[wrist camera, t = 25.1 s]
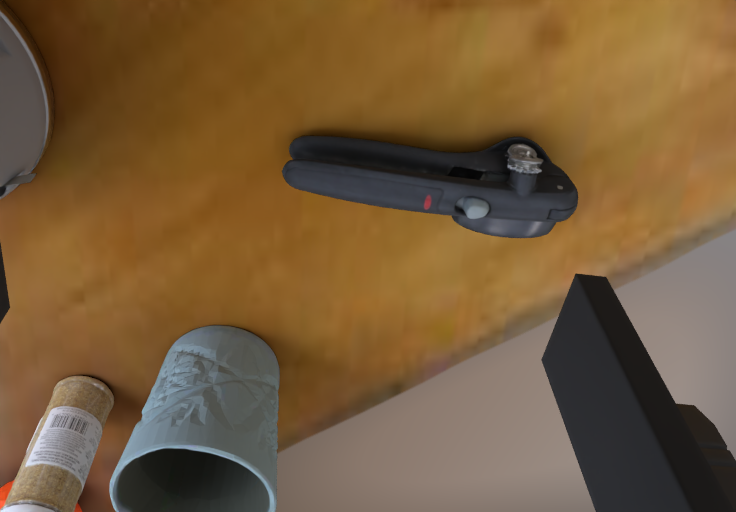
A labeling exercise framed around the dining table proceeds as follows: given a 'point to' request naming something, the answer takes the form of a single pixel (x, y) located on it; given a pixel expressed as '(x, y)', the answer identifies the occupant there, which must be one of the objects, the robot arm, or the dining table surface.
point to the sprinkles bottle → (62, 448)
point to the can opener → (440, 181)
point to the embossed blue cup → (205, 429)
